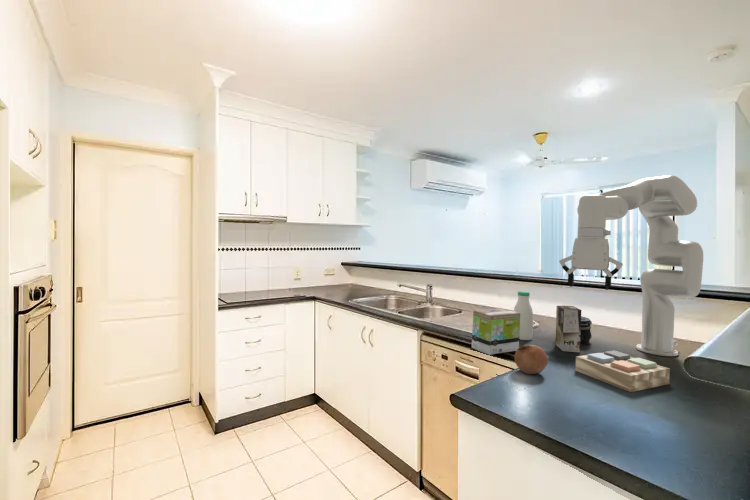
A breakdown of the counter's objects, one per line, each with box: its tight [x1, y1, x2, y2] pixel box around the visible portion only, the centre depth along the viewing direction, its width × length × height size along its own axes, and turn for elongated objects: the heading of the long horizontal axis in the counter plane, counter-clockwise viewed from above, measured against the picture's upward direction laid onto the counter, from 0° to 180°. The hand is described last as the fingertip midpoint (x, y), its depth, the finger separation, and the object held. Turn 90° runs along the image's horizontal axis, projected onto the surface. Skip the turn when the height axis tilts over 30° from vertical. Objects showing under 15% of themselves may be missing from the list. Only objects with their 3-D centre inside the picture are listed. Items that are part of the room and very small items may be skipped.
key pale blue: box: [587, 352, 614, 364], centre depth 110 cm, size 5×5×3 cm
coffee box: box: [555, 305, 582, 353], centre depth 137 cm, size 9×6×16 cm
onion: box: [514, 344, 549, 375], centre depth 111 cm, size 10×9×10 cm
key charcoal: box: [603, 349, 631, 361], centre depth 113 cm, size 5×5×3 cm
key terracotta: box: [611, 360, 640, 372], centre depth 104 cm, size 5×5×3 cm
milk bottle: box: [513, 290, 534, 341], centre depth 151 cm, size 8×8×20 cm
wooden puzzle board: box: [575, 352, 671, 393], centre depth 108 cm, size 17×17×5 cm
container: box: [580, 315, 593, 346], centre depth 148 cm, size 13×13×10 cm
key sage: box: [628, 357, 657, 369], centre depth 106 cm, size 5×5×3 cm
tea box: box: [471, 307, 520, 356], centre depth 134 cm, size 15×10×15 cm, turn 117°
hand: (588, 287), depth 113 cm, fingers open, 9 cm apart
